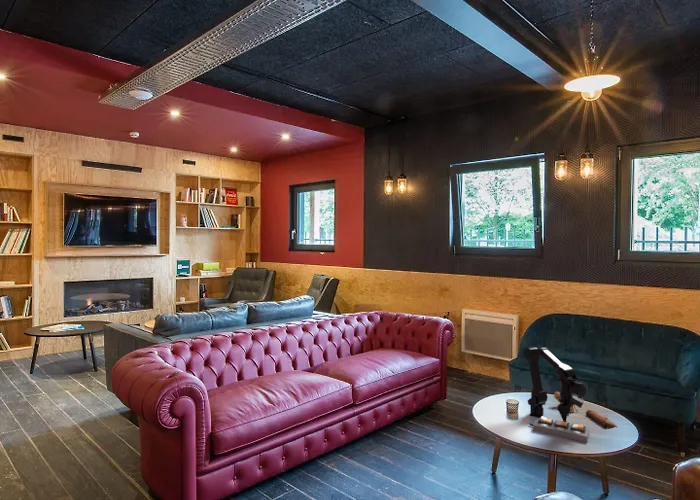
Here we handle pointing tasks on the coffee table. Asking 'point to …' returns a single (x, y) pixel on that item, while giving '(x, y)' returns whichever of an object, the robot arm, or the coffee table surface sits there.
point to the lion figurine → (558, 397)
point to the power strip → (561, 430)
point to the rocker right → (578, 426)
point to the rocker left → (545, 419)
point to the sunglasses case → (600, 419)
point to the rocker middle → (561, 423)
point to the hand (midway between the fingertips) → (566, 418)
